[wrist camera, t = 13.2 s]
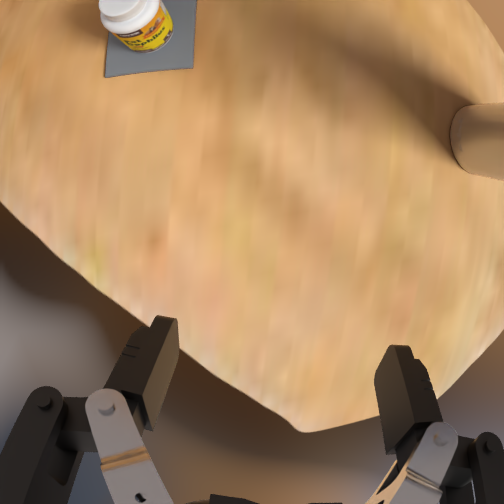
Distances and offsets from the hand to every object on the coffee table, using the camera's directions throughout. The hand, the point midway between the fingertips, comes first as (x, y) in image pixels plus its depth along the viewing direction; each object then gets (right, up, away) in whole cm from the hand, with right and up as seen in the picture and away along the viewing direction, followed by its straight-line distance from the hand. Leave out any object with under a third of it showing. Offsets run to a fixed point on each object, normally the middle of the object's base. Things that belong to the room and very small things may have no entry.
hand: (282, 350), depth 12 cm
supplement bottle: (-12, +27, +16) cm, 34 cm away
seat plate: (-12, +28, +17) cm, 34 cm away
